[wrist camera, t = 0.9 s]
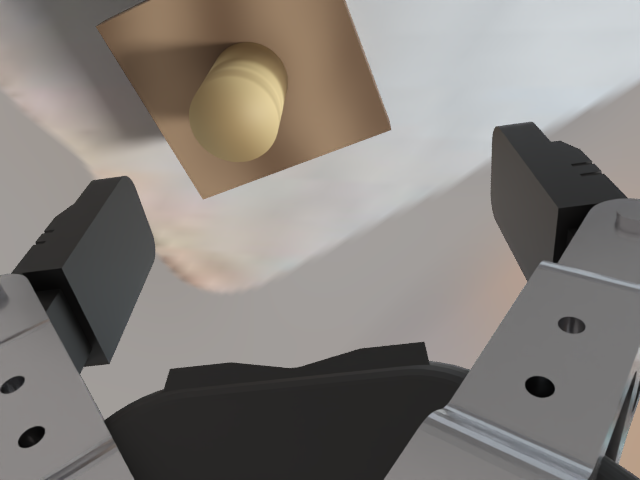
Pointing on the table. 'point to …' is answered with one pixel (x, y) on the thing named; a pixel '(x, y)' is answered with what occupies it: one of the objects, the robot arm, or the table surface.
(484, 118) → the table surface
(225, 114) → the lid
